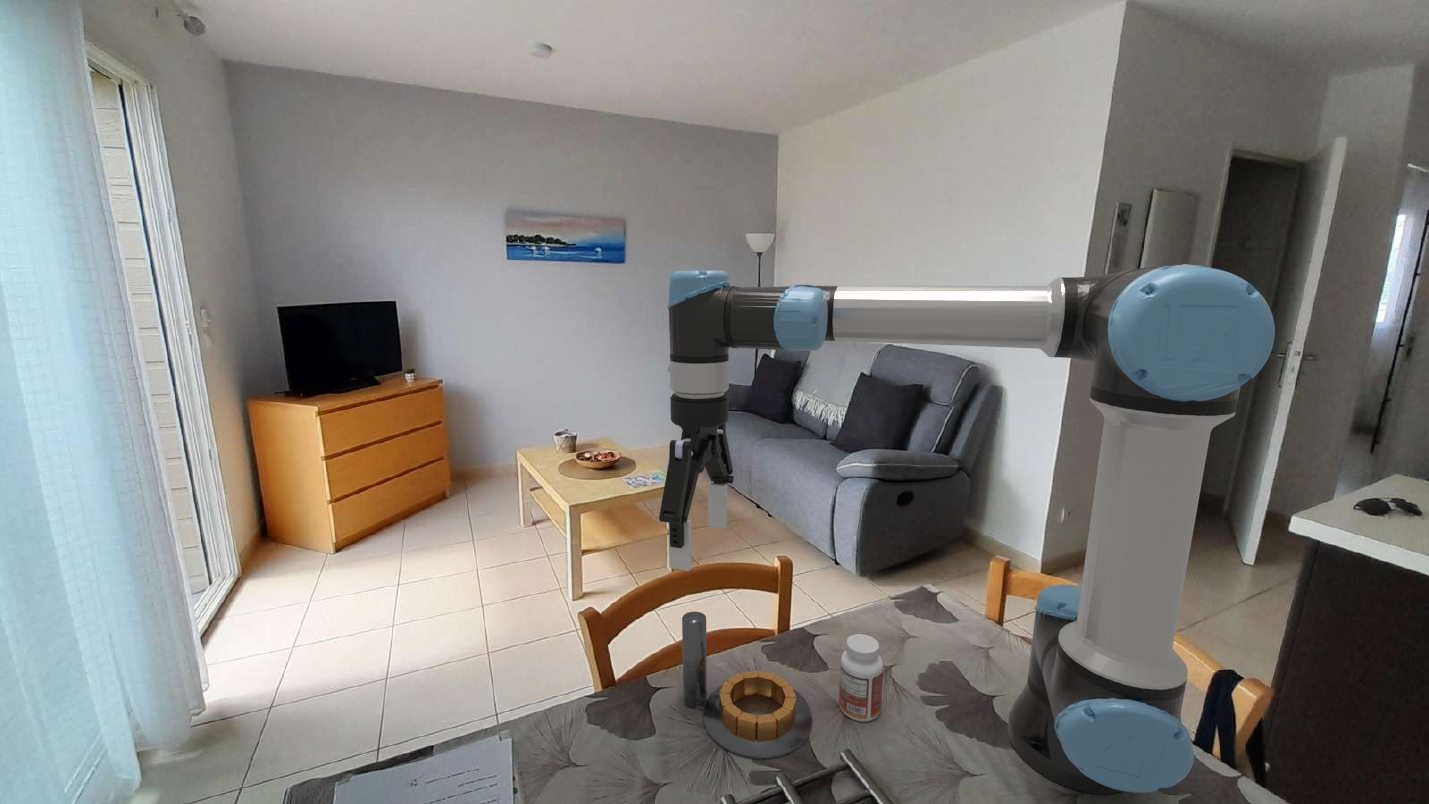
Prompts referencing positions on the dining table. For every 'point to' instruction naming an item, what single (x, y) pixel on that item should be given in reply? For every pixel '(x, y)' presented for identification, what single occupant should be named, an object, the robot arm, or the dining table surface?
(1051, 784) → the dining table surface
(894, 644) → the dining table surface
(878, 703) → the pill bottle
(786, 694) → the round base with peg
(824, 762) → the dining table surface
